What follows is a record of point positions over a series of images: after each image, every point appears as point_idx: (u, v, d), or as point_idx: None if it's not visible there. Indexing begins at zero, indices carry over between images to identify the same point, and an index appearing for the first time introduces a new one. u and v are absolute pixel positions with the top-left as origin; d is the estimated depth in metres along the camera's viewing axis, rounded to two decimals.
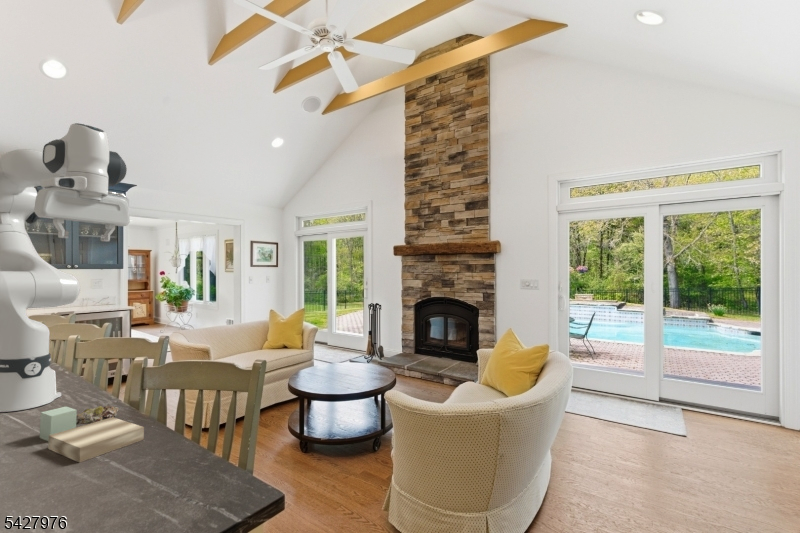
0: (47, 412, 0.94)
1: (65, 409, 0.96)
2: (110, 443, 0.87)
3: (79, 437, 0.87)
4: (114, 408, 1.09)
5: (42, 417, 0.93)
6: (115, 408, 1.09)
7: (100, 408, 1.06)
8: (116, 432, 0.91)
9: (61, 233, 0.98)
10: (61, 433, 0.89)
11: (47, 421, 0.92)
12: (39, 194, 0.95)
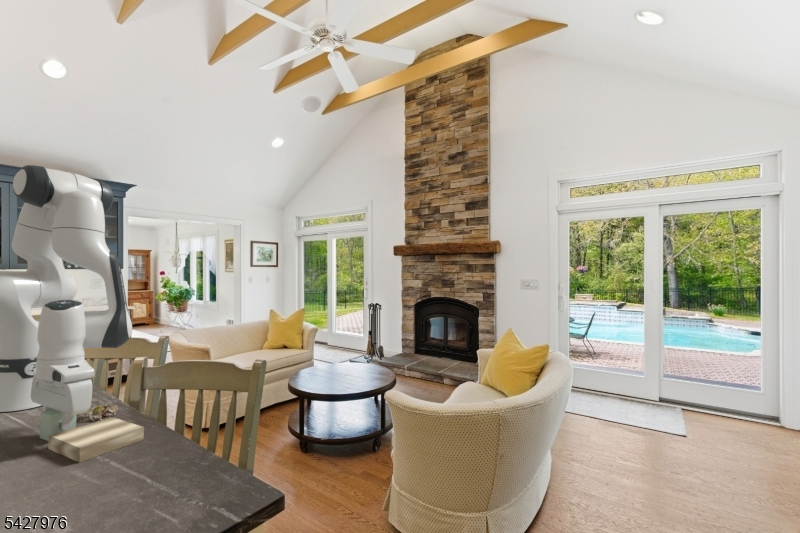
0: (47, 412, 0.94)
1: None
2: (110, 443, 0.87)
3: (79, 437, 0.87)
4: (114, 407, 1.09)
5: (42, 417, 0.93)
6: (114, 407, 1.09)
7: (99, 407, 1.07)
8: (116, 432, 0.91)
9: (71, 423, 0.94)
10: (61, 433, 0.89)
11: (47, 420, 0.92)
12: (78, 390, 0.90)
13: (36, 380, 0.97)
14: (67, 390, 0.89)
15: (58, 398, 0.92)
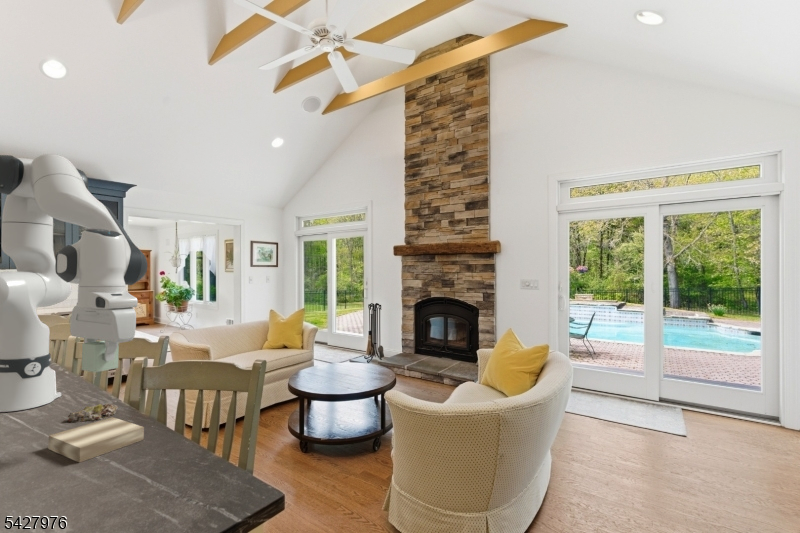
0: (89, 343, 0.90)
1: None
2: (110, 443, 0.87)
3: (79, 437, 0.87)
4: (113, 406, 1.10)
5: (84, 348, 0.90)
6: (114, 406, 1.10)
7: (99, 406, 1.07)
8: (116, 432, 0.91)
9: (114, 355, 0.90)
10: (61, 433, 0.89)
11: (90, 351, 0.89)
12: (122, 317, 0.87)
13: (76, 312, 0.93)
14: (112, 316, 0.85)
15: (101, 327, 0.88)
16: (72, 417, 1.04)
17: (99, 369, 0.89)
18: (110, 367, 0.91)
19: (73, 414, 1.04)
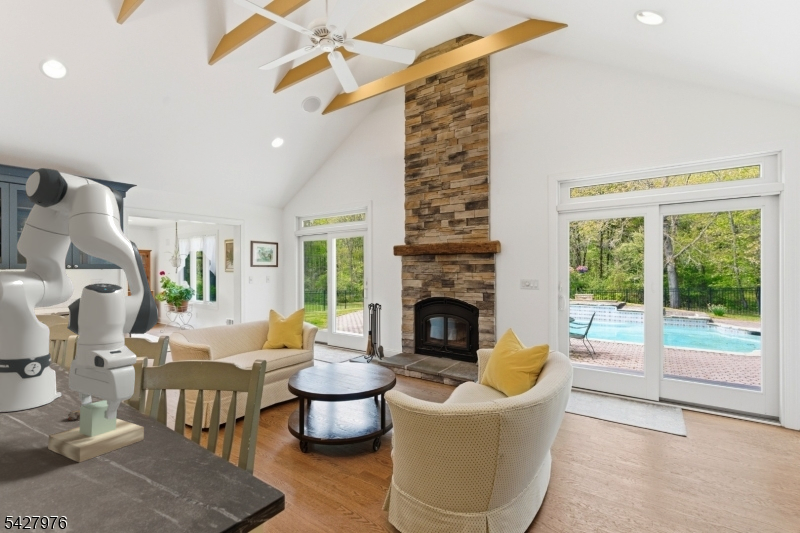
0: (87, 406, 0.90)
1: (105, 403, 0.92)
2: (110, 443, 0.87)
3: (79, 437, 0.87)
4: None
5: (82, 411, 0.90)
6: None
7: None
8: (116, 432, 0.91)
9: (116, 412, 0.89)
10: (61, 433, 0.89)
11: (88, 415, 0.88)
12: (121, 376, 0.86)
13: (75, 367, 0.93)
14: (110, 376, 0.85)
15: (99, 385, 0.88)
16: (72, 416, 1.04)
17: (97, 433, 0.89)
18: (108, 430, 0.91)
19: (73, 413, 1.05)
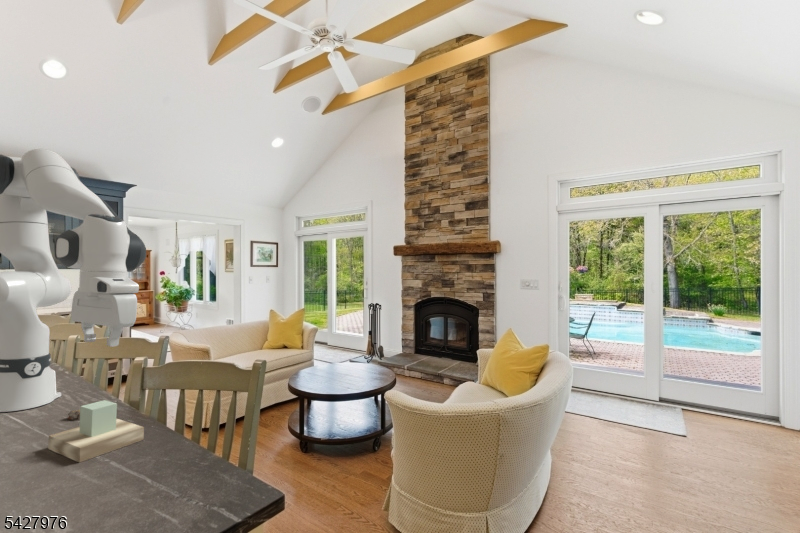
0: (87, 406, 0.90)
1: (105, 403, 0.92)
2: (110, 443, 0.87)
3: (79, 437, 0.87)
4: None
5: (82, 411, 0.90)
6: None
7: None
8: (116, 432, 0.91)
9: (118, 340, 0.90)
10: (61, 433, 0.89)
11: (88, 415, 0.88)
12: (124, 302, 0.87)
13: (77, 297, 0.93)
14: (113, 301, 0.86)
15: (102, 312, 0.88)
16: (72, 415, 1.05)
17: (97, 433, 0.89)
18: (108, 430, 0.91)
19: (73, 412, 1.05)
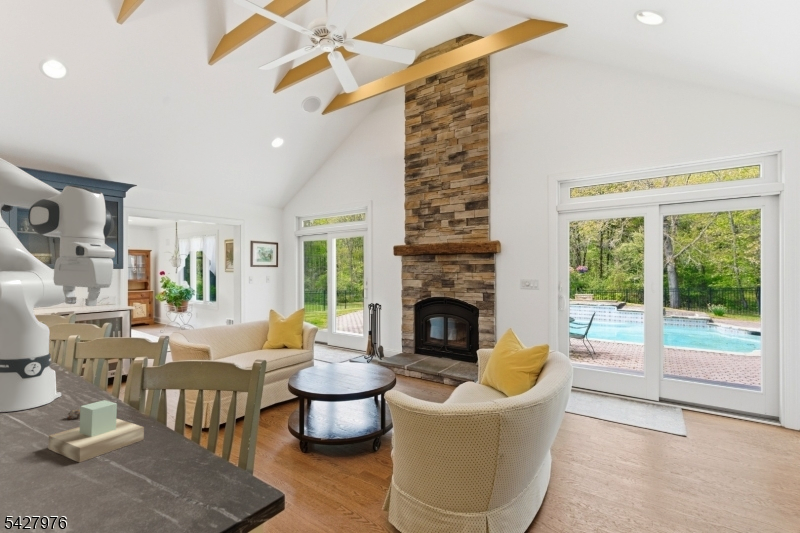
0: (87, 406, 0.90)
1: (105, 403, 0.92)
2: (110, 443, 0.87)
3: (79, 437, 0.87)
4: None
5: (82, 411, 0.90)
6: None
7: None
8: (116, 432, 0.91)
9: (96, 301, 0.98)
10: (61, 433, 0.89)
11: (88, 415, 0.88)
12: (100, 265, 0.95)
13: (59, 263, 1.01)
14: (90, 263, 0.94)
15: (81, 274, 0.97)
16: (72, 415, 1.05)
17: (97, 433, 0.89)
18: (108, 430, 0.91)
19: (73, 412, 1.06)
